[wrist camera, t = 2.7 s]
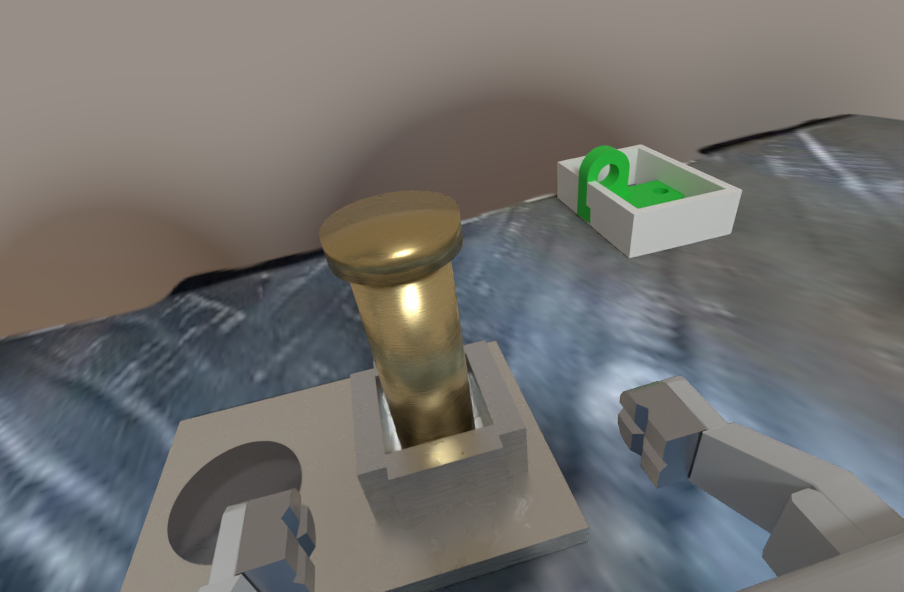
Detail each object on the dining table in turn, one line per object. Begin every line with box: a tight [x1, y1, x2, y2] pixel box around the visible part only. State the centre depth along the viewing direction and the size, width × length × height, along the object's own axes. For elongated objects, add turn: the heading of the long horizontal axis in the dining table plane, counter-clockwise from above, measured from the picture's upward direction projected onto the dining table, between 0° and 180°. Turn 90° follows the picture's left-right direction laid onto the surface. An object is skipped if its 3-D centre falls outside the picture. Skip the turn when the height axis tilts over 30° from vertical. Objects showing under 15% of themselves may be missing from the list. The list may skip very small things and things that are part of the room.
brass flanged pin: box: [319, 190, 476, 450], centre depth 25 cm, size 6×6×16 cm
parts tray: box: [557, 145, 742, 258], centre depth 53 cm, size 12×18×5 cm, turn 13°
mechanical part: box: [577, 146, 684, 223], centre depth 52 cm, size 12×6×8 cm, turn 106°
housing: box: [120, 340, 589, 592], centre depth 28 cm, size 25×16×6 cm, turn 103°
